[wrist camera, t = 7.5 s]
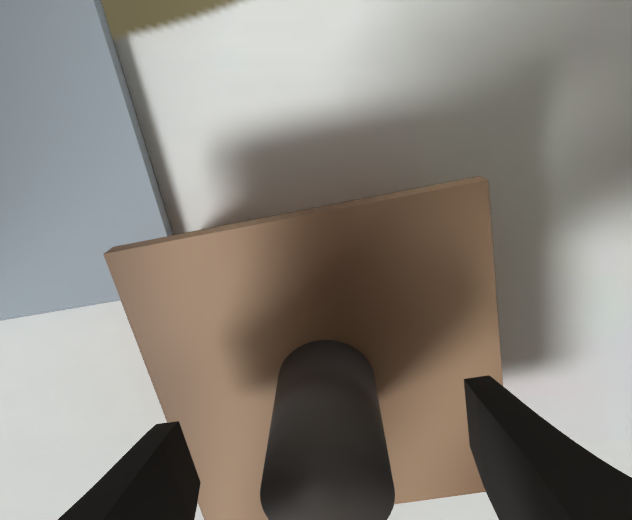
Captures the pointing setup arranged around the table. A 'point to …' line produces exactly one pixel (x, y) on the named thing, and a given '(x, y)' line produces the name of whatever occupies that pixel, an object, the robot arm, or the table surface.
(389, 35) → the table surface
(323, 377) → the lid
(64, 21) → the mat
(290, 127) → the table surface
